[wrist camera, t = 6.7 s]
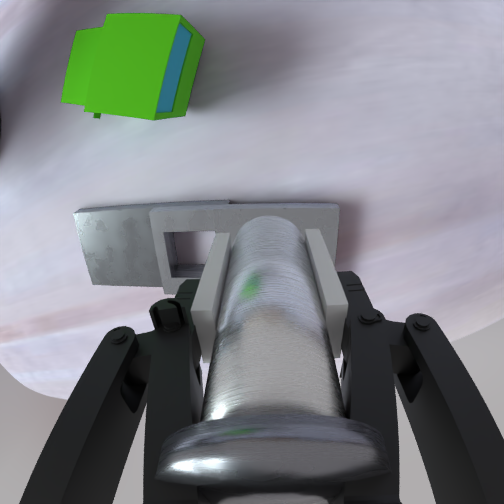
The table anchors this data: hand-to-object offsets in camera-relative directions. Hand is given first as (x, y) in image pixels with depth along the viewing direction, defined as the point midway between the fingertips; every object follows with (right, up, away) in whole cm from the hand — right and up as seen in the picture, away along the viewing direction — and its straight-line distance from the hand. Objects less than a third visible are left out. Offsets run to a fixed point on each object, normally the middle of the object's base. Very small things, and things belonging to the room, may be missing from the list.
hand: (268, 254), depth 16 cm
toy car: (-13, +19, +9) cm, 25 cm away
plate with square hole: (-7, +1, +18) cm, 19 cm away
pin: (0, 0, 0) cm, 0 cm away
